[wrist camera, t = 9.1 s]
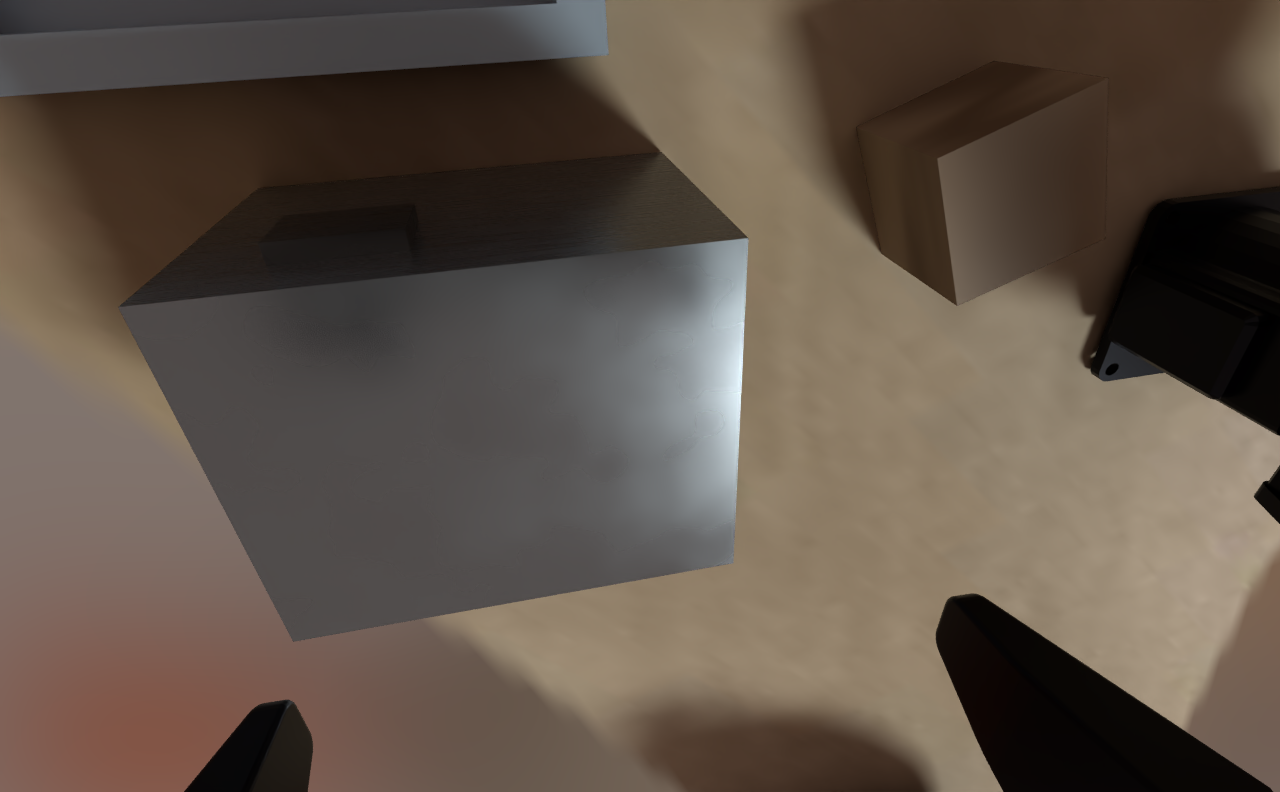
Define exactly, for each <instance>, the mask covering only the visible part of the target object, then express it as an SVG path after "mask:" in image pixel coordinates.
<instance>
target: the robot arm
mask: <svg viewBox="0 0 1280 792" xmlns="http://www.w3.org/2000/svg"><path fill="white" fill-rule="evenodd" d="M1167 216H1168V217H1167ZM1091 373H1092V374H1093V375H1095V376H1096V377H1098V378H1099V379H1101V380H1102V381H1112V380H1118V379H1125V378H1132V377H1138V376H1145V375H1151V374H1158V373H1166V374H1168V375H1170V376H1171V377H1173V378H1175V379H1177V380H1178V381H1180V382H1182V383H1184V384H1185V385H1187V386H1189V387H1191V388H1192V389H1194V390H1196V391H1197V392H1199V393H1201V394H1203V395H1204V396H1206V397H1208V398H1210V399H1215V400H1217V401H1219V402H1220V403H1222V404H1224V405H1226V406H1227V407H1229V408H1231V409H1233V410H1234V411H1236V412H1238V413H1240V414H1241V415H1243V416H1245V417H1247V418H1248V419H1250V420H1252V421H1254V422H1255V423H1257V424H1259V425H1261V426H1262V427H1264V428H1266V429H1268V430H1269V431H1271V432H1273V433H1275V434H1276V435H1279V436H1280V187H1274V188H1265V189H1256V190H1247V191H1238V192H1229V193H1220V194H1211V195H1202V196H1193V197H1184V198H1175V199H1167V200H1164V201H1162V202H1160V203H1159V204H1157V205H1156V206H1155V207H1154V208H1153V209H1152V211H1151V212H1150V214H1149V216H1148V219H1147V221H1146V224H1145V226H1144V229H1143V232H1142V234H1141V237H1140V240H1139V242H1138V245H1137V247H1136V250H1135V253H1134V255H1133V258H1132V260H1131V263H1130V266H1129V268H1128V271H1127V274H1126V276H1125V279H1124V281H1123V284H1122V287H1121V289H1120V292H1119V295H1118V297H1117V300H1116V302H1115V305H1114V308H1113V310H1112V313H1111V316H1110V318H1109V321H1108V323H1107V326H1106V329H1105V331H1104V334H1103V336H1102V339H1101V342H1100V344H1099V347H1098V350H1097V352H1096V355H1095V357H1094V360H1093V363H1092V365H1091ZM1254 498H1255V499H1256V500H1257V501H1258V502H1259V503H1260V504H1261V505H1262V506H1263V507H1264V508H1265V509H1266V510H1267V511H1268V512H1269V513H1270V515H1271V516H1272V517H1273V518H1274V519H1275V520H1276V521H1277V522H1278V523H1279V524H1280V466H1279V467H1278V469H1277V470H1276V471H1275V473H1274V474H1273V476H1272V477H1271V478H1270V480H1269V481H1265V482H1263V483H1262V485H1261V486H1260V488H1259V489H1258V490H1257V492H1256V493H1255V495H1254ZM936 643H937V647H938V650H939V653H940V655H941V657H942V660H943V662H944V664H945V667H946V669H947V671H948V674H949V676H950V678H951V681H952V683H953V685H954V688H955V690H956V692H957V695H958V697H959V699H960V702H961V704H962V706H963V709H964V711H965V713H966V716H967V718H968V720H969V723H970V725H971V727H972V730H973V732H974V734H975V737H976V739H977V741H978V743H979V745H980V748H981V750H982V752H983V754H984V756H985V758H986V760H987V762H988V764H989V766H990V768H991V770H992V771H993V773H994V775H995V777H996V779H997V781H998V782H999V784H1000V786H1001V788H1002V790H1003V792H1273V791H1272V790H1271V788H1269V787H1268V786H1266V785H1265V784H1264V783H1262V782H1261V781H1259V780H1257V779H1256V778H1254V777H1253V776H1252V775H1250V774H1249V773H1247V772H1245V771H1244V770H1242V769H1241V768H1240V767H1238V766H1236V765H1235V764H1234V763H1232V762H1230V761H1229V760H1228V759H1226V758H1225V757H1223V756H1221V755H1220V754H1218V753H1217V752H1216V751H1214V750H1213V749H1211V748H1209V747H1208V746H1207V745H1205V744H1203V743H1202V742H1200V741H1199V740H1198V739H1196V738H1194V737H1193V736H1191V735H1190V734H1189V733H1187V732H1186V731H1184V730H1183V729H1181V728H1180V727H1178V726H1177V725H1175V724H1174V723H1172V722H1171V721H1169V720H1168V719H1166V718H1165V717H1163V716H1162V715H1160V714H1159V713H1157V712H1156V711H1154V710H1153V709H1151V708H1150V707H1148V706H1147V705H1145V704H1144V703H1142V702H1141V701H1139V700H1138V699H1136V698H1135V697H1133V696H1132V695H1130V694H1129V693H1127V692H1126V691H1124V690H1123V689H1121V688H1120V687H1118V686H1117V685H1115V684H1114V683H1112V682H1111V681H1109V680H1108V679H1106V678H1105V677H1103V676H1102V675H1100V674H1099V673H1097V672H1096V671H1094V670H1093V669H1091V668H1090V667H1088V666H1087V665H1085V664H1084V663H1082V662H1081V661H1079V660H1078V659H1076V658H1075V657H1073V656H1072V655H1070V654H1069V653H1067V652H1066V651H1064V650H1063V649H1061V648H1060V647H1058V646H1057V645H1055V644H1054V643H1052V642H1051V641H1049V640H1048V639H1046V638H1045V637H1043V636H1042V635H1040V634H1039V633H1037V632H1036V631H1034V630H1033V629H1031V628H1030V627H1028V626H1027V625H1025V624H1024V623H1022V622H1021V621H1019V620H1018V619H1016V618H1015V617H1013V616H1012V615H1010V614H1009V613H1007V612H1006V611H1004V610H1003V609H1001V608H1000V607H998V606H997V605H995V604H994V603H992V602H991V601H989V600H988V599H986V598H985V597H983V596H981V595H978V594H965V595H958V596H952V597H950V598H949V599H948V600H947V602H946V604H945V607H944V610H943V612H942V615H941V618H940V621H939V624H938V627H937V630H936ZM312 753H313V741H312V736H311V733H310V731H309V729H308V727H307V726H306V724H305V721H304V720H303V718H302V716H301V714H300V712H299V710H298V709H297V706H296V705H295V703H294V702H292V701H290V700H282V701H275V702H269V703H263V704H260V705H258V706H256V707H255V708H254V709H252V710H251V711H250V713H249V714H248V715H247V716H246V717H245V718H244V720H243V721H242V722H241V723H240V725H239V726H238V727H237V728H236V729H235V731H234V732H233V733H232V734H231V735H230V737H229V738H228V739H227V740H226V741H225V743H224V744H223V745H222V746H221V748H220V749H219V750H218V751H217V752H216V754H215V755H214V756H213V757H212V758H211V760H210V761H209V762H208V763H207V765H206V766H205V767H204V768H203V769H202V771H201V772H200V773H199V774H198V775H197V777H196V778H195V779H194V780H193V781H192V783H191V784H190V785H189V786H188V788H187V789H186V790H185V791H184V792H308V785H309V776H310V770H311V762H312Z"/></svg>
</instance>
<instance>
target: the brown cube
mask: <svg viewBox="0 0 1280 792" xmlns="http://www.w3.org/2000/svg"><path fill="white" fill-rule="evenodd" d="M856 129H857V134H858V139H859V144H860V149H861V154H862V159H863V164H864V169H865V174H866V179H867V184H868V189H869V194H870V199H871V204H872V209H873V214H874V219H875V224H876V229H877V234H878V239H879V243H880V248H881V253H882V254H883V255H884V256H886V257H887V258H888V259H890V260H891V261H893V262H894V263H896V264H897V265H899V266H900V267H901V268H903V269H904V270H906V271H907V272H909V273H910V274H912V275H913V276H915V277H916V278H917V279H919V280H920V281H922V282H923V283H925V284H926V285H928V286H929V287H930V288H932V289H933V290H935V291H936V292H938V293H939V294H941V295H942V296H943V297H945V298H946V299H948V300H949V301H951V302H952V303H954V304H955V305H956V306H958V305H960V304H963V303H965V302H967V301H969V300H971V299H974V298H976V297H978V296H980V295H982V294H985V293H987V292H989V291H991V290H993V289H996V288H998V287H1000V286H1002V285H1004V284H1007V283H1009V282H1011V281H1013V280H1015V279H1018V278H1020V277H1022V276H1024V275H1026V274H1028V273H1031V272H1033V271H1035V270H1037V269H1039V268H1042V267H1044V266H1046V265H1048V264H1050V263H1053V262H1055V261H1057V260H1059V259H1061V258H1064V257H1066V256H1068V255H1070V254H1072V253H1075V252H1077V251H1079V250H1081V249H1083V248H1086V247H1088V246H1090V245H1092V244H1094V243H1097V242H1099V241H1101V240H1103V239H1105V238H1106V185H1107V132H1108V78H1105V77H1098V76H1092V75H1085V74H1078V73H1071V72H1065V71H1058V70H1051V69H1044V68H1038V67H1031V66H1024V65H1017V64H1011V63H1004V62H997V61H993V62H991V63H989V64H987V65H985V66H983V67H980V68H978V69H976V70H974V71H972V72H970V73H968V74H966V75H964V76H962V77H960V78H957V79H955V80H953V81H951V82H949V83H947V84H945V85H943V86H941V87H939V88H937V89H934V90H932V91H930V92H928V93H926V94H924V95H922V96H920V97H918V98H916V99H914V100H911V101H909V102H907V103H905V104H903V105H901V106H899V107H897V108H895V109H893V110H891V111H888V112H886V113H884V114H882V115H880V116H878V117H876V118H874V119H872V120H870V121H868V122H866V123H863V124H861V125H859V126H857V127H856Z"/></svg>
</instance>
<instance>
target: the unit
mask: <svg viewBox="0 0 1280 792" xmlns="http://www.w3.org/2000/svg"><path fill="white" fill-rule="evenodd" d="M747 256H748V237H747V236H746V235H745V234H744V233H743V232H742V231H741V230H740V229H739V228H738V227H737V226H736V225H735V224H734V223H733V222H732V221H731V220H730V219H729V218H728V217H727V216H726V215H725V214H724V213H723V212H722V211H720V210H719V209H718V208H717V207H716V206H715V205H714V204H713V203H712V202H711V201H710V200H709V199H708V198H707V197H706V196H705V195H704V194H703V193H702V192H701V191H700V190H699V189H698V188H697V187H696V186H695V185H694V184H693V183H692V182H691V181H690V180H689V179H688V178H687V177H686V176H685V175H684V174H683V173H682V172H681V171H680V170H679V169H678V168H677V167H676V166H675V165H674V164H673V163H672V162H671V161H670V160H669V159H668V158H667V157H666V156H665V155H664V154H663V153H662V152H659V153H648V154H636V155H625V156H614V157H603V158H592V159H581V160H570V161H559V162H547V163H536V164H525V165H514V166H503V167H492V168H481V169H470V170H458V171H447V172H436V173H425V174H414V175H403V176H392V177H380V178H369V179H358V180H347V181H336V182H325V183H314V184H303V185H291V186H280V187H269V188H258V189H257V190H255V191H254V192H253V193H252V194H251V195H250V196H248V197H247V198H246V199H245V200H244V201H243V202H241V203H240V204H239V205H238V206H237V207H235V208H234V209H233V210H232V211H231V212H230V213H228V214H227V215H226V216H225V217H224V218H223V219H221V220H220V221H219V222H218V223H217V224H215V225H214V226H213V227H212V228H211V229H210V230H208V231H207V232H206V233H205V234H204V235H203V236H201V237H200V238H199V239H198V240H197V241H195V242H194V243H193V244H192V245H191V246H190V247H188V248H187V249H186V250H185V251H184V252H183V253H181V254H180V255H179V256H178V257H177V258H176V259H174V260H173V261H172V262H171V263H170V264H168V265H167V266H166V267H165V268H164V269H163V270H161V271H160V272H159V273H158V274H157V275H156V276H154V277H153V278H152V279H151V280H150V281H148V282H147V283H146V284H145V285H144V286H143V287H141V288H140V289H139V290H138V291H137V292H136V293H134V294H133V295H132V296H131V297H130V298H128V299H127V300H126V301H125V302H124V303H123V304H121V305H120V306H119V307H118V308H119V310H120V312H121V314H122V316H123V317H124V319H125V321H126V323H127V325H128V327H129V329H130V331H131V333H132V335H133V337H134V338H135V340H136V342H137V344H138V346H139V348H140V350H141V352H142V354H143V356H144V358H145V359H146V361H147V363H148V365H149V367H150V369H151V371H152V373H153V375H154V377H155V379H156V380H157V382H158V384H159V386H160V388H161V390H162V392H163V394H164V396H165V398H166V400H167V401H168V403H169V405H170V407H171V409H172V411H173V413H174V415H175V417H176V419H177V421H178V422H179V424H180V426H181V428H182V430H183V432H184V434H185V436H186V438H187V440H188V442H189V443H190V445H191V447H192V449H193V451H194V453H195V455H196V457H197V459H198V461H199V463H200V464H201V466H202V468H203V470H204V472H205V474H206V476H207V478H208V480H209V482H210V484H211V485H212V487H213V489H214V491H215V493H216V495H217V497H218V499H219V501H220V503H221V505H222V506H223V508H224V510H225V512H226V514H227V516H228V518H229V520H230V521H231V524H232V525H233V527H234V529H235V531H236V533H237V535H238V537H239V539H240V541H241V543H242V545H243V547H244V548H245V550H246V552H247V554H248V556H249V558H250V560H251V562H252V564H253V566H254V567H255V569H256V571H257V573H258V575H259V577H260V579H261V581H262V583H263V585H264V587H265V588H266V590H267V592H268V594H269V596H270V598H271V600H272V602H273V604H274V606H275V608H276V610H277V611H278V613H279V615H280V617H281V619H282V621H283V623H284V625H285V627H286V629H287V631H288V632H289V634H290V636H291V638H292V640H293V641H299V640H305V639H311V638H316V637H322V636H327V635H333V634H339V633H344V632H350V631H355V630H361V629H366V628H372V627H378V626H383V625H389V624H394V623H400V622H406V621H411V620H417V619H423V618H428V617H434V616H440V615H445V614H451V613H456V612H462V611H468V610H473V609H479V608H484V607H490V606H496V605H501V604H507V603H512V602H518V601H524V600H529V599H535V598H540V597H546V596H552V595H557V594H563V593H568V592H574V591H580V590H585V589H591V588H596V587H602V586H608V585H613V584H619V583H624V582H630V581H636V580H641V579H647V578H653V577H658V576H664V575H669V574H675V573H681V572H686V571H692V570H697V569H703V568H709V567H714V566H720V565H725V564H731V563H733V557H734V535H735V514H736V492H737V471H738V449H739V428H740V406H741V385H742V363H743V342H744V320H745V299H746V277H747Z"/></svg>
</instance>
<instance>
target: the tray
mask: <svg viewBox="0 0 1280 792" xmlns="http://www.w3.org/2000/svg"><path fill="white" fill-rule="evenodd" d="M601 55H608V40H607V24H606V9H605V0H0V97H4V96H19V95H33V94H48V93H62V92H77V91H91V90H106V89H121V88H135V87H150V86H164V85H179V84H193V83H208V82H222V81H237V80H251V79H266V78H281V77H295V76H310V75H324V74H339V73H353V72H368V71H382V70H397V69H411V68H426V67H441V66H455V65H470V64H484V63H499V62H513V61H528V60H542V59H557V58H572V57H586V56H601Z"/></svg>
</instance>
